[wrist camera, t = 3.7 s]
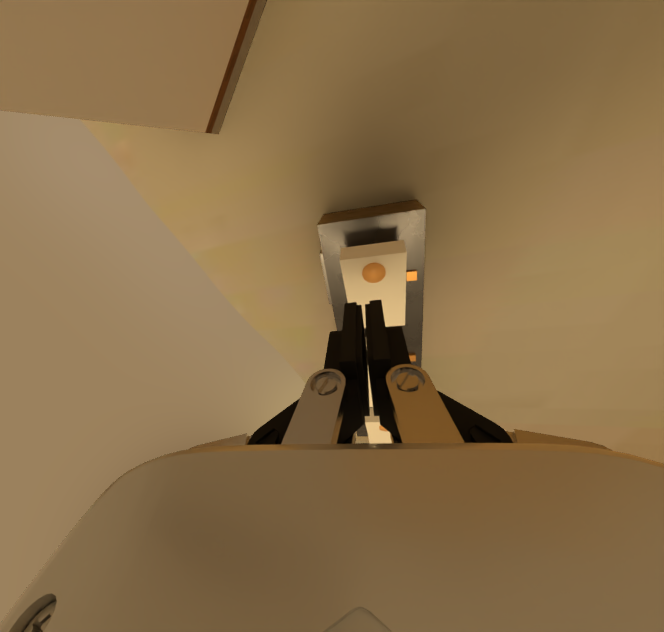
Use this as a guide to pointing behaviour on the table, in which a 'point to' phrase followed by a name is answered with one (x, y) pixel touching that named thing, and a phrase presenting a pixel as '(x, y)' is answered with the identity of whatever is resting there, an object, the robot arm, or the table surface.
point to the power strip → (372, 229)
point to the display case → (125, 59)
